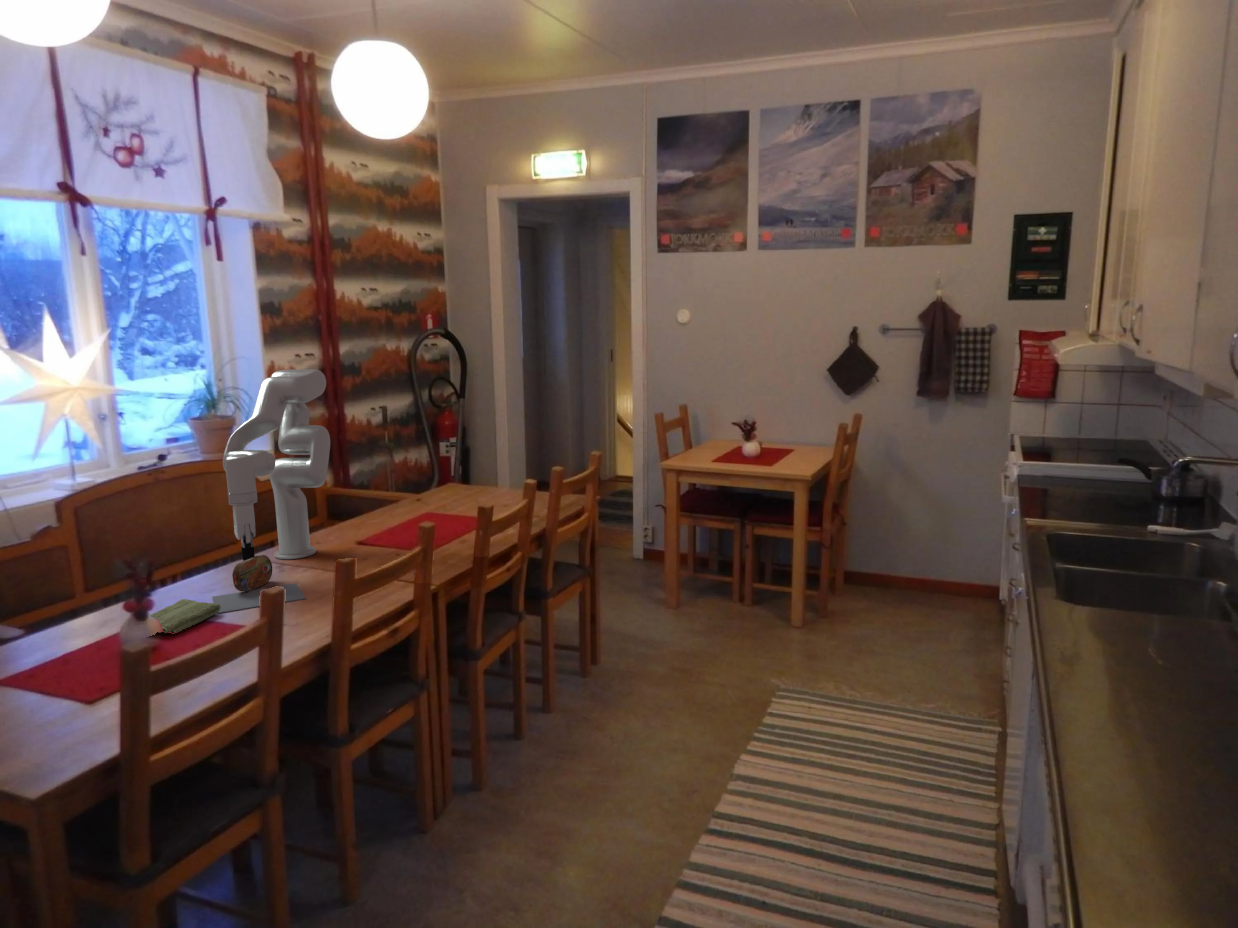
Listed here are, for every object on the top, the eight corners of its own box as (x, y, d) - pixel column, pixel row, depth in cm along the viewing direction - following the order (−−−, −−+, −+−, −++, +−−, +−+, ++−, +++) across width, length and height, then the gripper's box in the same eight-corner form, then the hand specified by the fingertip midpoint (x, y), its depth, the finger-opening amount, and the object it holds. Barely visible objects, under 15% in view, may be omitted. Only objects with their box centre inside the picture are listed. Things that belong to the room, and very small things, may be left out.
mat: (212, 597, 233) (212, 596, 233) (296, 584, 244) (296, 583, 244) (217, 613, 220) (217, 612, 220) (305, 598, 231) (305, 597, 231)
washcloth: (129, 632, 208) (127, 620, 207) (185, 607, 224) (184, 596, 224) (170, 638, 204) (169, 625, 203) (225, 612, 220) (224, 600, 220)
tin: (242, 595, 233) (239, 565, 232) (231, 594, 234) (228, 565, 233) (274, 579, 248) (271, 551, 247) (264, 579, 248) (262, 551, 247)
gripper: (226, 494, 247) (231, 555, 250) (231, 504, 234) (237, 568, 237) (253, 491, 250) (259, 551, 254) (260, 501, 238) (266, 564, 241)
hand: (248, 559), depth 245 cm, fingers closed
